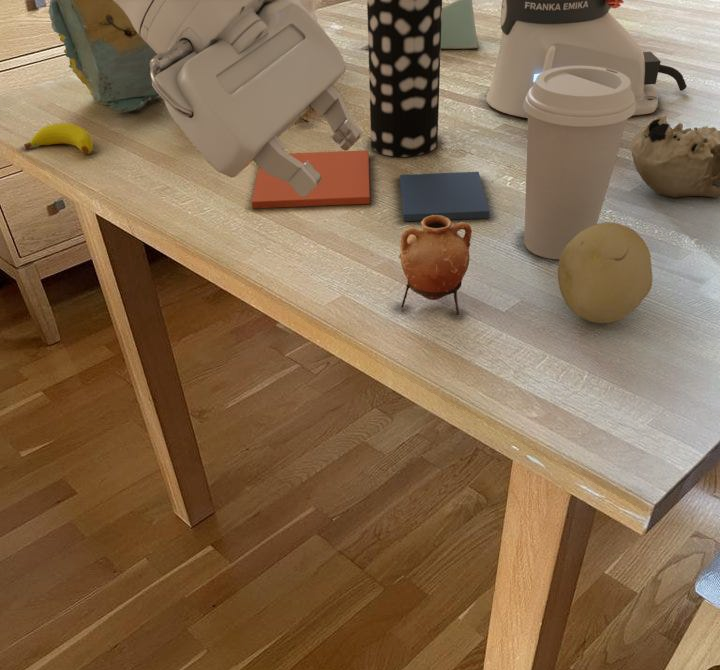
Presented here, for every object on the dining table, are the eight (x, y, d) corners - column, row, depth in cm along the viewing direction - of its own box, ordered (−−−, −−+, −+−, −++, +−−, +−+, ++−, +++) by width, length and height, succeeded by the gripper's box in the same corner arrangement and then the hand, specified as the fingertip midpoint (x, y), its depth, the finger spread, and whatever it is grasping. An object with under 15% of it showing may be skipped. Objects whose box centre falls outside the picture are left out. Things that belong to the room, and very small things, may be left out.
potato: (533, 309, 67) (545, 224, 61) (600, 283, 69) (617, 199, 64) (593, 351, 62) (612, 262, 56) (662, 321, 65) (687, 233, 59)
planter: (370, 60, 117) (481, 26, 116) (361, 27, 119) (470, -7, 118) (376, 96, 125) (480, 64, 124) (366, 64, 127) (469, 33, 125)
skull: (607, 114, 83) (669, 76, 73) (742, 143, 88) (815, 111, 78) (599, 199, 83) (659, 173, 74) (733, 223, 88) (805, 201, 79)
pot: (478, 302, 69) (422, 275, 71) (493, 223, 63) (431, 195, 65) (441, 333, 66) (383, 302, 68) (453, 252, 59) (389, 222, 62)
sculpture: (132, 158, 111) (44, 102, 110) (200, 63, 114) (115, 8, 113) (105, 79, 93) (0, 12, 92) (187, -32, 95) (85, -97, 95)
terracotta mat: (368, 156, 92) (368, 149, 91) (369, 204, 83) (369, 196, 82) (262, 160, 92) (261, 154, 92) (252, 208, 83) (251, 201, 82)
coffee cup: (623, 259, 72) (662, 92, 61) (529, 274, 71) (551, 105, 60) (582, 216, 79) (610, 57, 68) (495, 228, 78) (509, 69, 67)
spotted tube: (417, 161, 90) (420, -37, 76) (358, 149, 93) (350, -44, 79) (449, 137, 95) (457, -54, 81) (392, 126, 98) (390, -59, 84)
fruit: (50, 130, 101) (27, 154, 99) (41, 116, 99) (18, 140, 97) (107, 139, 97) (85, 164, 95) (99, 124, 95) (77, 149, 93)
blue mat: (478, 178, 86) (478, 171, 86) (489, 218, 79) (489, 211, 79) (399, 181, 87) (399, 174, 86) (403, 221, 79) (403, 214, 79)
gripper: (158, 31, 49) (309, 195, 53) (284, -39, 62) (397, 96, 67) (117, 99, 53) (261, 245, 58) (244, 20, 67) (352, 143, 71)
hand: (335, 164), depth 62 cm, fingers open, 8 cm apart
